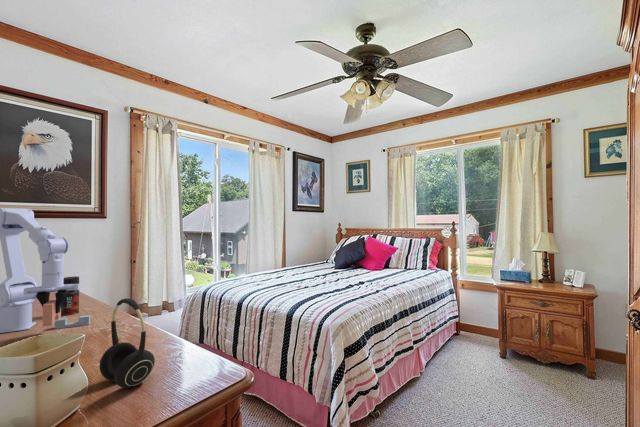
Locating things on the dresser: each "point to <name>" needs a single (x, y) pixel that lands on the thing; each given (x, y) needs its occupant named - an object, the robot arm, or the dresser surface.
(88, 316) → the grey block
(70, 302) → the deodorant
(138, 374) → the headphones
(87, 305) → the dresser surface
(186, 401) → the dresser surface
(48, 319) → the pink rectangular block
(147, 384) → the dresser surface
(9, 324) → the robot arm
